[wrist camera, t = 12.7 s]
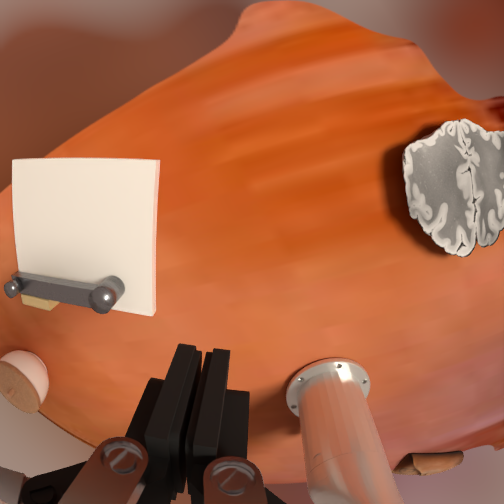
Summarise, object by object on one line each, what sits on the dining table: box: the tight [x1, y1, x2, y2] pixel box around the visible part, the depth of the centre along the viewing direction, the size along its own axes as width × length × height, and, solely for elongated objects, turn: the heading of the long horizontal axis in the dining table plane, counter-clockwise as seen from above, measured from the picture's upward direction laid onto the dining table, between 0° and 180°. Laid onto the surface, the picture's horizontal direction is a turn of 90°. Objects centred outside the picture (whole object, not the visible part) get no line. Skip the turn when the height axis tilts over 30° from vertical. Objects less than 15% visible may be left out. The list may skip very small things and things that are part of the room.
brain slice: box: [402, 119, 504, 257], centre depth 33 cm, size 20×17×3 cm
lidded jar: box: [0, 350, 49, 413], centre depth 40 cm, size 11×11×9 cm
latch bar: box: [4, 271, 125, 314], centre depth 34 cm, size 16×3×6 cm, turn 85°
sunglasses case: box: [391, 451, 464, 476], centre depth 50 cm, size 18×7×7 cm, turn 72°
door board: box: [12, 158, 160, 316], centre depth 34 cm, size 19×22×6 cm
